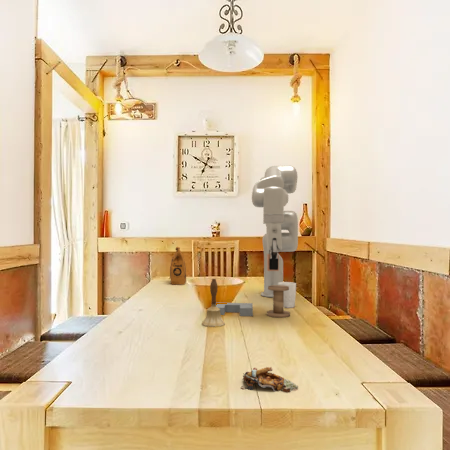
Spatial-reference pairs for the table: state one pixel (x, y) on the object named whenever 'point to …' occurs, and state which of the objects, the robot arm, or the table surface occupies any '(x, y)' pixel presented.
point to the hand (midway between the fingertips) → (273, 268)
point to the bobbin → (278, 302)
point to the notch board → (236, 308)
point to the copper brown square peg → (268, 262)
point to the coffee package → (178, 268)
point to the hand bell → (213, 309)
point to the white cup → (289, 294)
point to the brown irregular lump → (268, 380)
